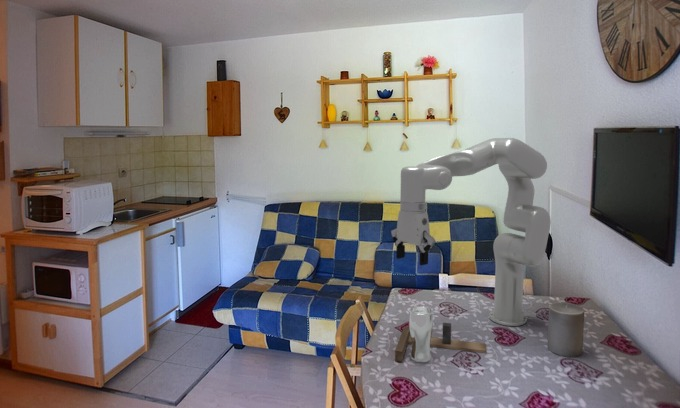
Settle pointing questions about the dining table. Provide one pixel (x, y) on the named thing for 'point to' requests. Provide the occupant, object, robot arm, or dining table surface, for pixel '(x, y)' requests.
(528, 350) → the dining table surface
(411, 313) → the beer glass
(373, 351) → the dining table surface
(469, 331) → the dining table surface
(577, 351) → the pillar candle
